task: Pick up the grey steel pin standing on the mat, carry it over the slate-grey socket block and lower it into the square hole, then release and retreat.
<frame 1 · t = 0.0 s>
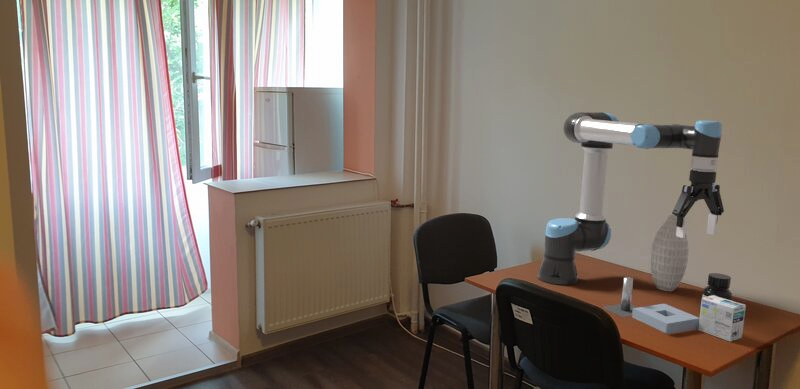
hand: (695, 235, 199), 28 cm above the table, fingers open, 13 cm apart
light bulb box: (719, 334, 191), on the table
mat: (625, 311, 209), on the table
vase: (665, 289, 235), on the table
ink bottle: (715, 310, 214), on the table
socket block: (664, 323, 199), on the table
pin: (625, 309, 209), resting on mat
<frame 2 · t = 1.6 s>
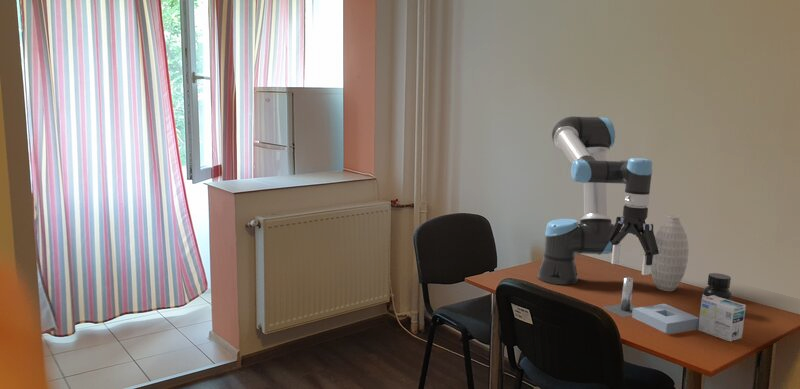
hand: (629, 268, 206), 15 cm above the table, fingers open, 13 cm apart
nothing on the table moved.
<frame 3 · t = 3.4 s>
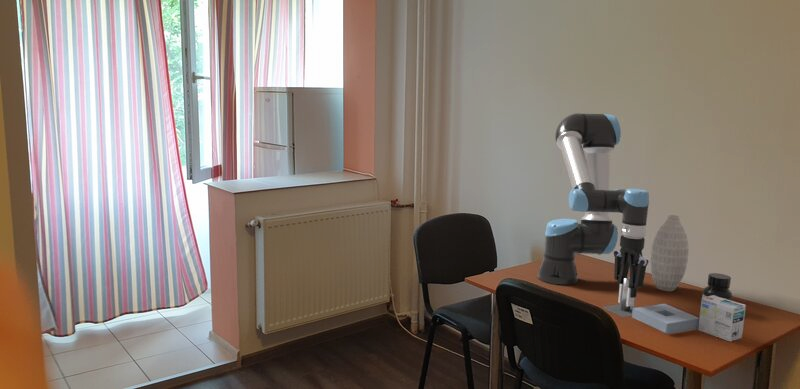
hand: (625, 304, 208), 3 cm above the table, fingers closed on pin, 3 cm apart
pin: (625, 309, 209), point 1 cm above the table, touching gripper, mat
everything else where it was.
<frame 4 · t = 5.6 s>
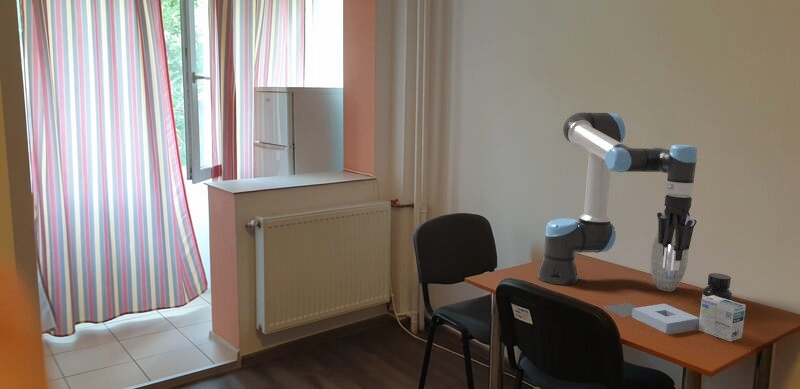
hand: (670, 268, 195), 18 cm above the table, fingers closed on pin, 2 cm apart
pin: (669, 278, 196), point 15 cm above the table, touching gripper
everything else where it was.
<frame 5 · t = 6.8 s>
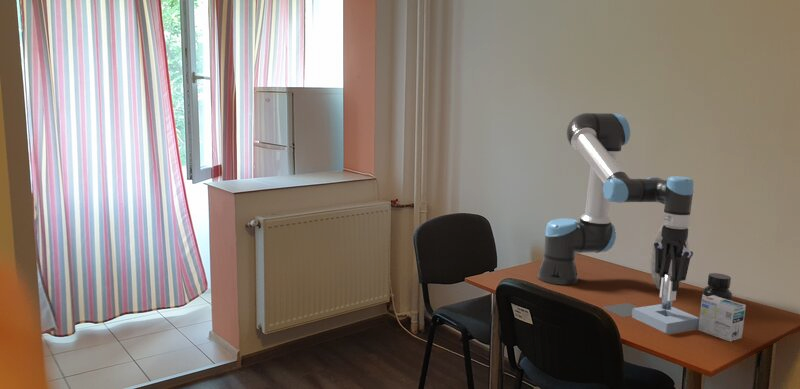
hand: (667, 298, 197), 8 cm above the table, fingers closed on pin, 2 cm apart
pin: (666, 308, 198), point 5 cm above the table, touching gripper
everything else where it was.
when the fingers open (5 cm above the table, at t = 7.8 s): pin drops 1 cm, resting in socket block.
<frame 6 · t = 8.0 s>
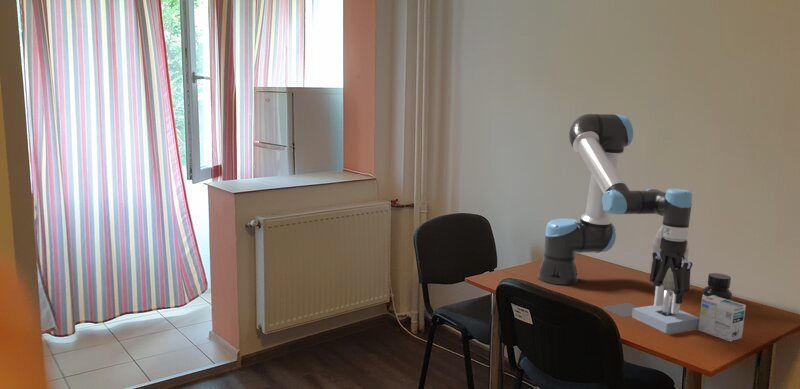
hand: (666, 308, 198), 5 cm above the table, fingers open, 6 cm apart
pin: (664, 323, 198), resting in socket block
everything else where it was.
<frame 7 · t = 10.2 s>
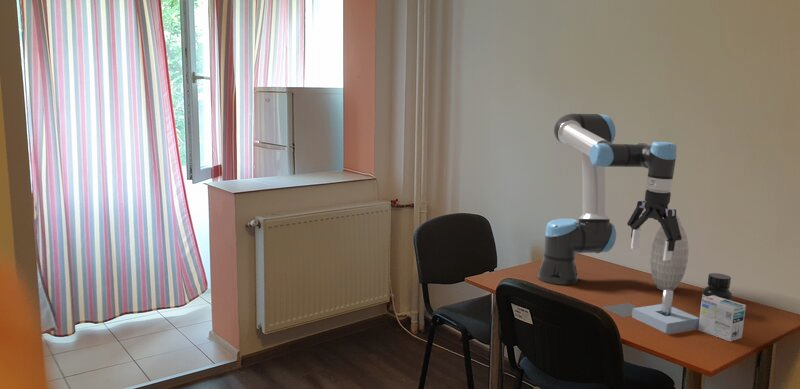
hand: (650, 254, 203), 21 cm above the table, fingers open, 13 cm apart
nothing on the table moved.
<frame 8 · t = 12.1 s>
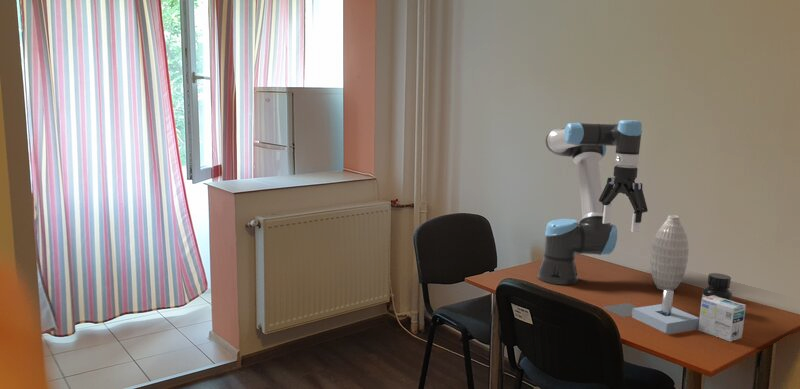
hand: (620, 227, 213), 27 cm above the table, fingers open, 13 cm apart
nothing on the table moved.
at the end: pin 0.1 cm off-centre on the socket block, point 0.0 cm above the socket block's base; pin tilted 0°; the gripper is holding nothing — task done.
